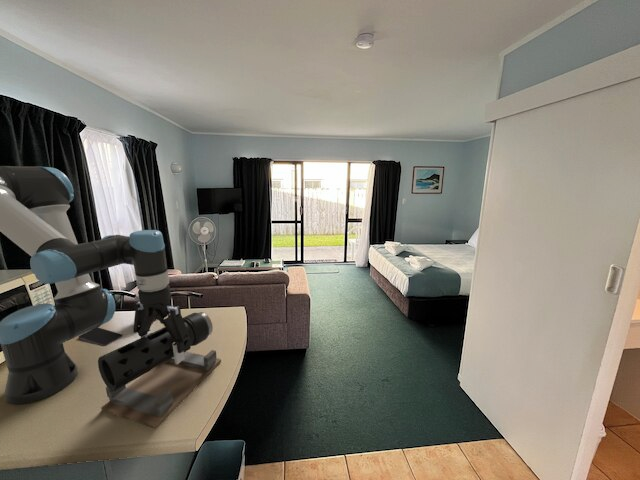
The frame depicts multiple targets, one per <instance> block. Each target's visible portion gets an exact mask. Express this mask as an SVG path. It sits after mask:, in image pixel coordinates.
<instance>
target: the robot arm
mask: <svg viewBox="0 0 640 480" xmlns="http://www.w3.org/2000/svg"><path fill="white" fill-rule="evenodd" d="M74 192H75V191H74V187H73V184H72V182H71V181H70V179H69V178H68V176H67V175H66V174H65V173H64V172H62V170H59V169H57V168H55V167H52V166H51V167H48V166H40V165H35V166H29V165H27V166H25V165H24V166H18V165H17V166H16V165H15V166H13V165H12V166H11V165H0V232H1V233H2V235H4V236H5V237H7V239H9V240H10V241H11V242H12V243H14V244H15V245H16V246H18V247H19V248H20V249H21V250H23V251H24V252H25V253H26V254H28V255H29V256H30V257H31V258H30V261H29V264H30V265H29V266H30V270H31V272H32V274H34V276H35V279H36V280H37V281H39V282H40V283H43V284H46V285H51V284H55V287H56V290H57V293H56V295H55V296H54V297H53V301H54V303H55V305H54V304H52V303H49V302H47V303H45V302H44V303H38V304H35V305H30V306H26V307H24V308H20V309H17V310H16V311H14V312H12V313H10V314H8V315H7V316H5V317H3V318H2V320H1V321H0V347H1V351H2V353H3V357H4V361H5V363H6V367H7V370H8V375H7V380H6V384H5V389H4V394H5V399H6V401H7V403H9V404H11V405H12V404H13V405H23V404H25V405H26V404H29V403H33V402H37V401H40V400H42V399H46V398H48V397H50V396H52V395H54V394H56V393H58V392H60V391H61V390H63V389H65V388H66V387H68V386H69V385H70V384H71V383H72V382H74V380H75V379H76V378H77V376H78V367H77V365H76V363H75V362H74V361H73V360H72V359H71V358H70V356H69V355H68V354H67V353H66V351H65V345H64V344H65V343H66V342H67V341H70V340H72V339H75V338H78V337H79V336H80V335H82V334H84V333H86V332H88V331H90V330H92V329H94V328H101V326H103V325H104V324H107V323H109V322H110V321H111V320H112V319H113V317H114V315H115V312H116V302H115V299H114V296H113V294H112V293H111V292H110V291H109V290H108V289H107V288H101V286H100V284H99V283H96V282H94V281H93V280H92V277H91V276H90V274H91V273H94V272H98V271H102V270H105V269H110V268H113V267H115V266H116V267H117V266H119V265H122V264H125V265H131V266H133V269H134V275H135V280H136V286H137V289H138V291H137V293H138V294H139V301H140V302H137V301H136V303H134V304H133V307H134V319H133V320H134V321H133V327H132V328H133V329H132V330H133V331H132V332H133V333H134V334H138V336H139V337H140V338H142V337H144V336H146V335H149V334H151V333H152V332H151V327H152V324H153V323H154V321H155V320H154V319H157V320H158V321H159V323H160V324H161V325H162V324H163V326H164V327H166V329H167V331H168V332H169V334H170V335H171V337H172V339H173V340H174V343H173V344H172V345H173V352H174V359H175V364H177V365H178V364H179V363H180V362H181V361H182V360H184V349H185V348H184V341H186V340H187V339H188V338H189V337H190V336H189V334H188V331H187V328H186V326H185V323H184V321H183V316H182V313H181V312H182V311H181V307H180V306H179V305H176V306H171V304H170V300H171V297H172V293H171V285H169V284H170V276H169V271H168V265H167V264H168V263H167V257H166V254H167V253H166V244H165V242H164V236H163V233H162V232H161V231H160V230H157V229H144V230H137V231H133V232H131V233H130V234H129V236H128V235H121V234H112V235H111V234H110V235H105V236H103V237H102V238H101V239H98V240H93V241H88V242H84V243H83V242H82V243H78V240H77V238H76V235H75V232H74V230H73V228H72V225H71V222H70V219H69V216H68V215H67V211H68V210H69V209H70V208H71V205H70V203H71V202H72V201H73V200H74V197H75V195H74ZM153 320H154V321H153ZM157 320H156V321H157Z"/></svg>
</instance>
